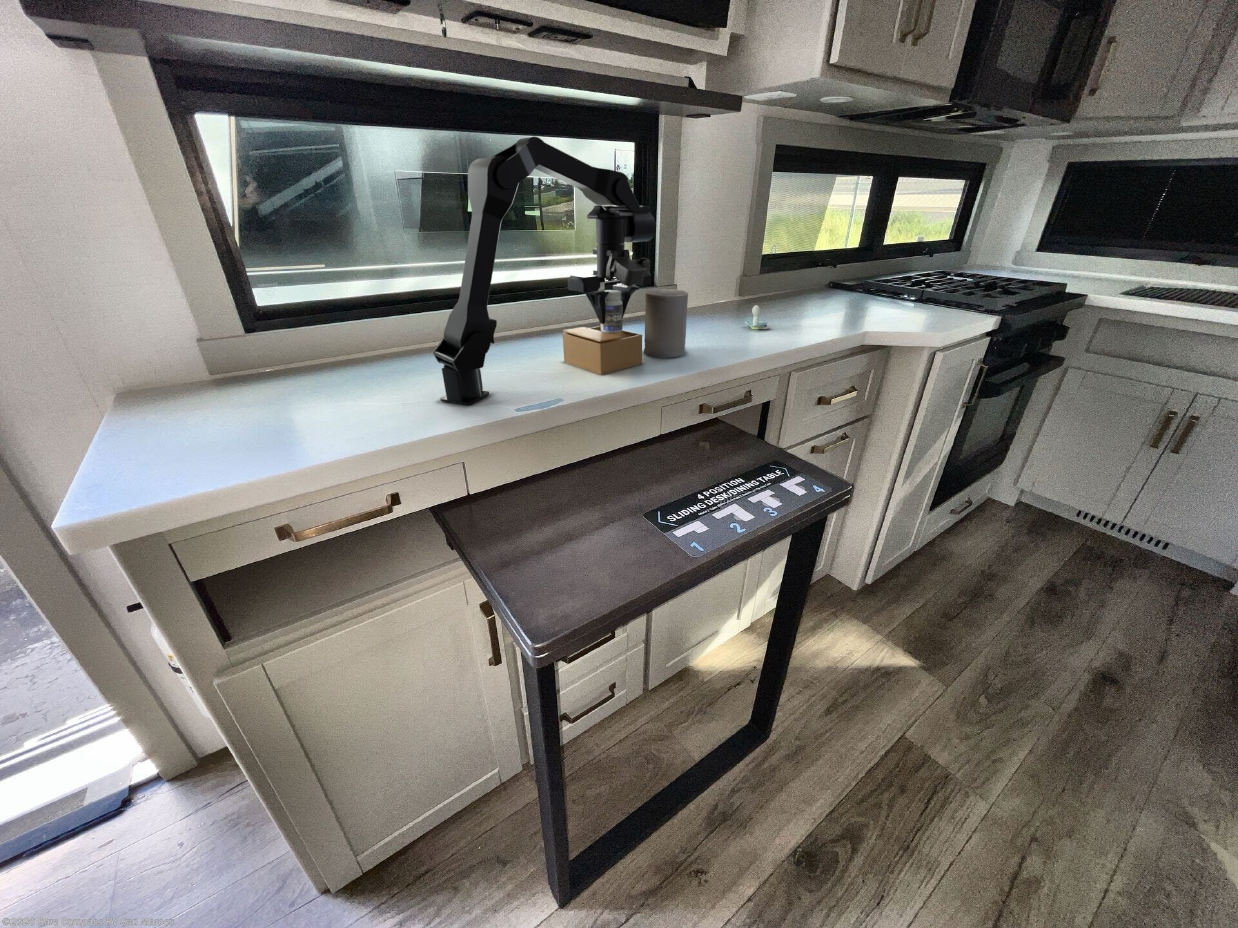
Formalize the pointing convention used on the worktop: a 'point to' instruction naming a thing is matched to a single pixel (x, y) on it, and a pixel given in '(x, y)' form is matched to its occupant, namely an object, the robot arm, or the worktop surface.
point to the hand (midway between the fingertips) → (611, 322)
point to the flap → (592, 334)
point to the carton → (603, 352)
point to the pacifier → (756, 320)
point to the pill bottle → (613, 312)
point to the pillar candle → (665, 322)
